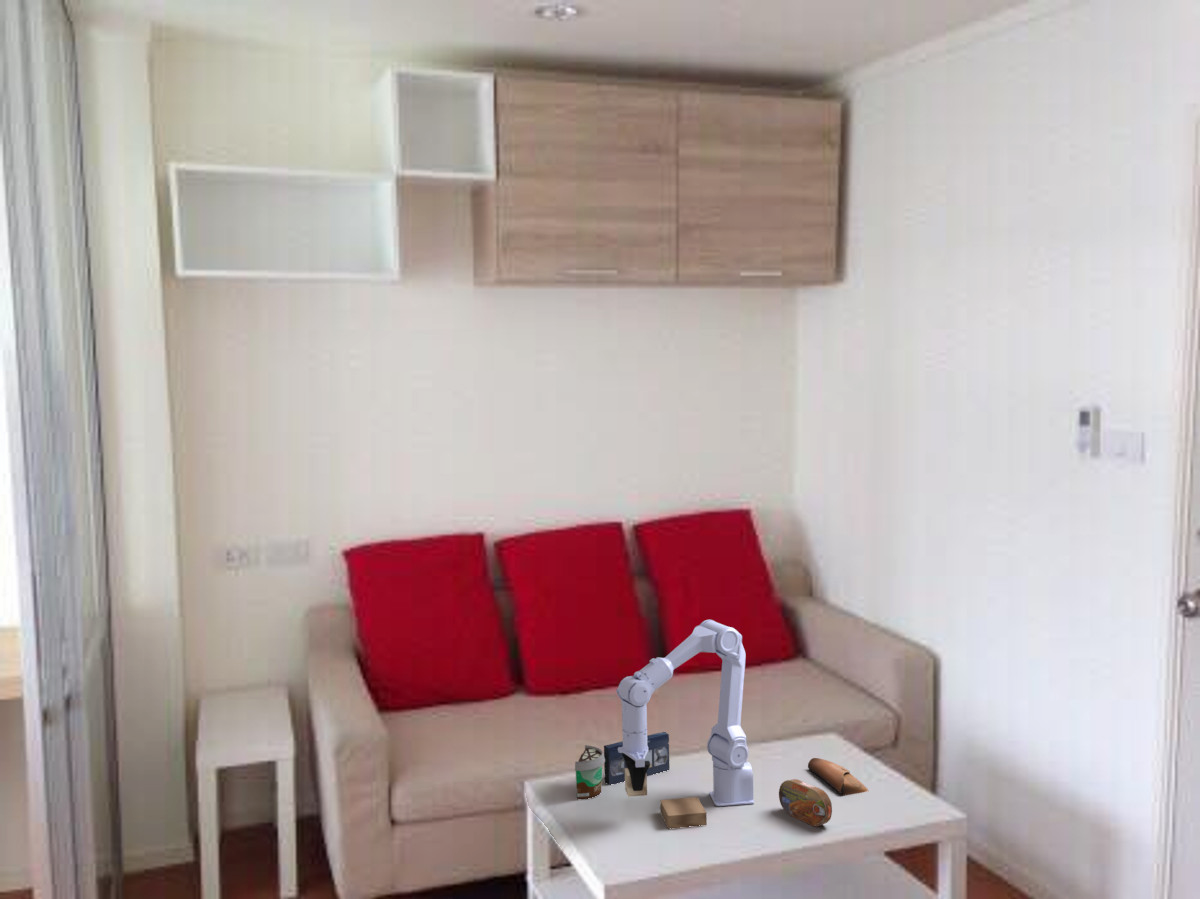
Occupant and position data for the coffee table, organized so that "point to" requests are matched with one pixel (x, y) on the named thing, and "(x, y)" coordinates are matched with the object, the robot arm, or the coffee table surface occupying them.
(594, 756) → the food container
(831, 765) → the sunglasses case
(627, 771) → the maple cube
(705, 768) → the coffee table surface
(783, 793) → the tin
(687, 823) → the tan flat block
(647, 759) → the vhs cassette tape
